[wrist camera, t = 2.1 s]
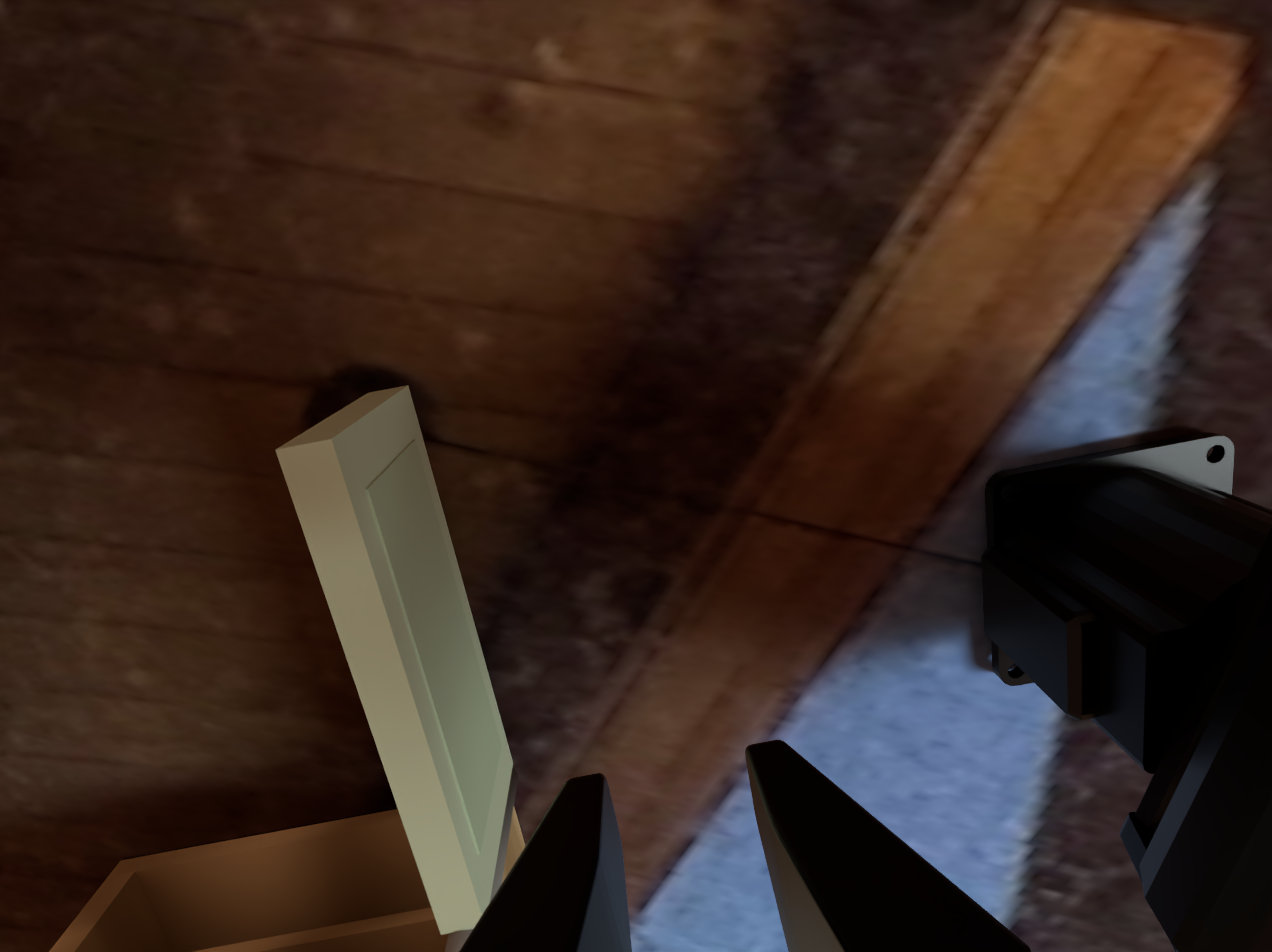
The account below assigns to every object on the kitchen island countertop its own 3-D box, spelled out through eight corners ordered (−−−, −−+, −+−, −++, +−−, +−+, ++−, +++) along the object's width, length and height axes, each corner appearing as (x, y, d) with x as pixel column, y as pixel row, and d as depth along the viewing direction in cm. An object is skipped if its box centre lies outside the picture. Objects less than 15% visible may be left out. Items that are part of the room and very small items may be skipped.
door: (523, 788, 22) (498, 964, 16) (487, 794, 22) (451, 972, 16) (411, 384, 18) (332, 439, 13) (369, 392, 18) (272, 451, 13)
